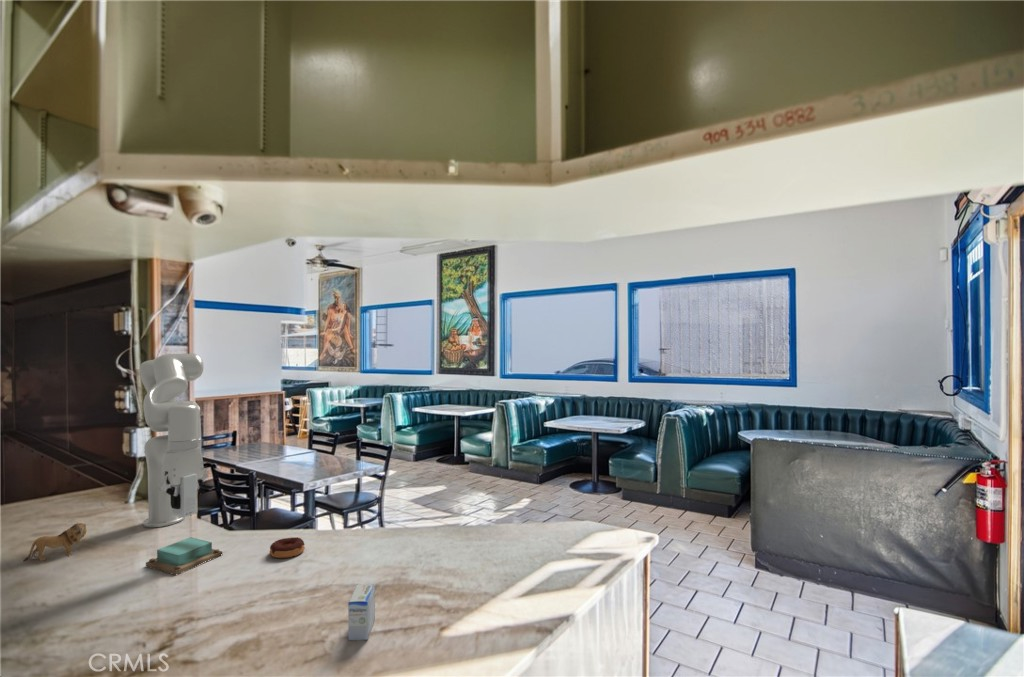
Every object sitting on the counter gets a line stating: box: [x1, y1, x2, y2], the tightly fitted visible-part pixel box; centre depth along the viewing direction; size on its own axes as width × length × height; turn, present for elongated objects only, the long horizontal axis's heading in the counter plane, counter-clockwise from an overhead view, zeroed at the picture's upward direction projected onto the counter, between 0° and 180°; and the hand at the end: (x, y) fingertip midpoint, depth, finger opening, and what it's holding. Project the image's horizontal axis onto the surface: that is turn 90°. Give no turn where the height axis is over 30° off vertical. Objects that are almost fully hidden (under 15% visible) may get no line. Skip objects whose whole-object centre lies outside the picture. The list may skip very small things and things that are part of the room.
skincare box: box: [172, 474, 198, 518], centre depth 150 cm, size 6×4×12 cm
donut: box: [269, 536, 305, 559], centre depth 155 cm, size 10×10×4 cm
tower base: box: [145, 536, 223, 576], centre depth 150 cm, size 14×14×4 cm
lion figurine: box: [22, 522, 87, 562], centre depth 154 cm, size 15×5×9 cm, turn 130°
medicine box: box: [347, 583, 376, 641], centre depth 113 cm, size 8×4×9 cm, turn 5°
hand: (184, 505), depth 150 cm, fingers closed on skincare box, 4 cm apart
